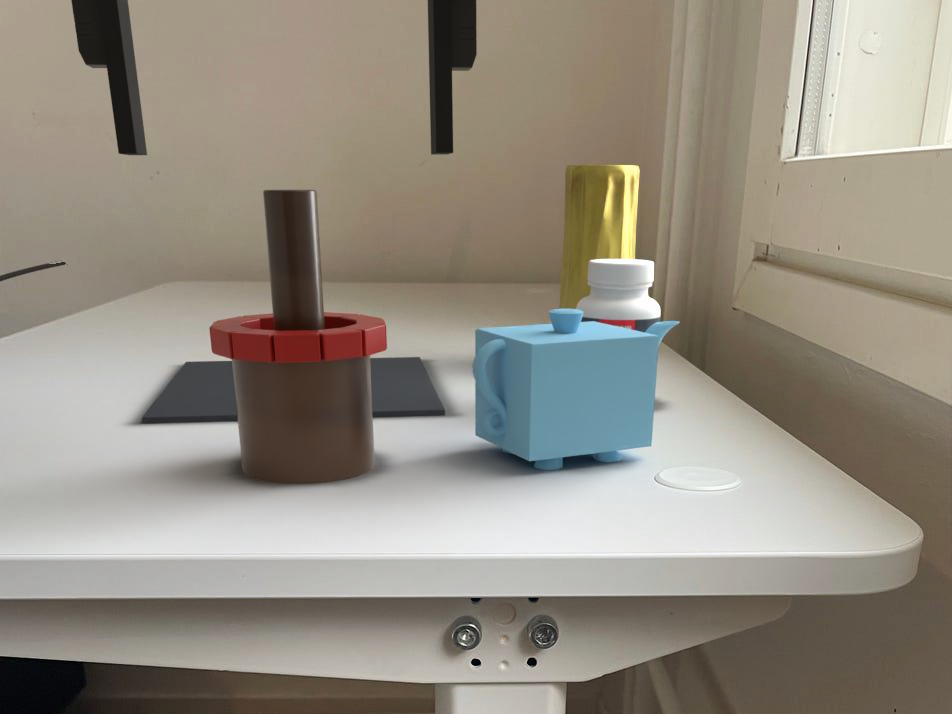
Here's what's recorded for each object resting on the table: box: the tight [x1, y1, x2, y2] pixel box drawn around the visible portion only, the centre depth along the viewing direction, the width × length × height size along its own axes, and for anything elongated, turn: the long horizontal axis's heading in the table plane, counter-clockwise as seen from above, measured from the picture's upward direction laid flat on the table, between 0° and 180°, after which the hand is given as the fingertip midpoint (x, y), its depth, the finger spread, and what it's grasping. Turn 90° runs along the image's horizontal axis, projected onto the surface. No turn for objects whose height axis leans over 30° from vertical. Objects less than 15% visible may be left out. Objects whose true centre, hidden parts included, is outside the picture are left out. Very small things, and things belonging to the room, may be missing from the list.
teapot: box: [472, 308, 681, 471], centre depth 53 cm, size 12×6×8 cm, turn 116°
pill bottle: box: [576, 258, 661, 333], centre depth 64 cm, size 5×5×9 cm
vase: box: [558, 164, 641, 309], centre depth 75 cm, size 6×6×14 cm
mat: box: [141, 356, 446, 425], centre depth 70 cm, size 20×18×1 cm
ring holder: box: [231, 188, 376, 485], centre depth 49 cm, size 7×7×13 cm
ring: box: [208, 311, 388, 363], centre depth 49 cm, size 8×8×1 cm
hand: (290, 155), depth 46 cm, fingers open, 13 cm apart
